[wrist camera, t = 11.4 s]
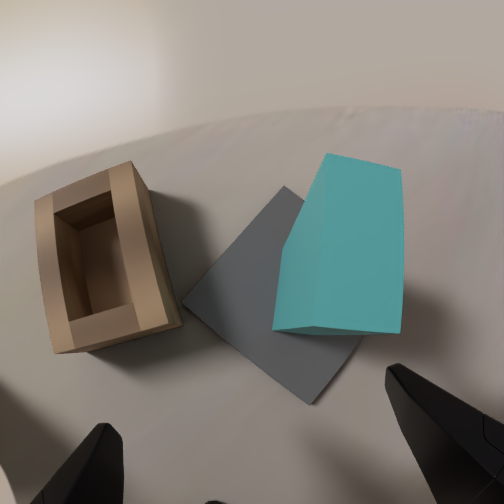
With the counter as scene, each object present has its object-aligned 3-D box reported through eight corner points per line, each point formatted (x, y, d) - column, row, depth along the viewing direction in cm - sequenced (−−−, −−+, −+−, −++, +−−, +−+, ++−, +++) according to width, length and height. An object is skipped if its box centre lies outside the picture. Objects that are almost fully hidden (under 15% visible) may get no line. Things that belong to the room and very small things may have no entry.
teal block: (313, 335, 18) (400, 333, 8) (272, 330, 18) (313, 325, 8) (321, 254, 20) (400, 169, 9) (282, 249, 20) (326, 152, 9)
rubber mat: (396, 280, 20) (399, 279, 19) (307, 403, 18) (309, 405, 17) (283, 188, 21) (283, 185, 21) (182, 302, 19) (181, 302, 19)
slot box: (183, 325, 19) (168, 323, 15) (86, 352, 18) (54, 353, 14) (148, 189, 21) (131, 160, 17) (62, 221, 20) (34, 200, 16)
